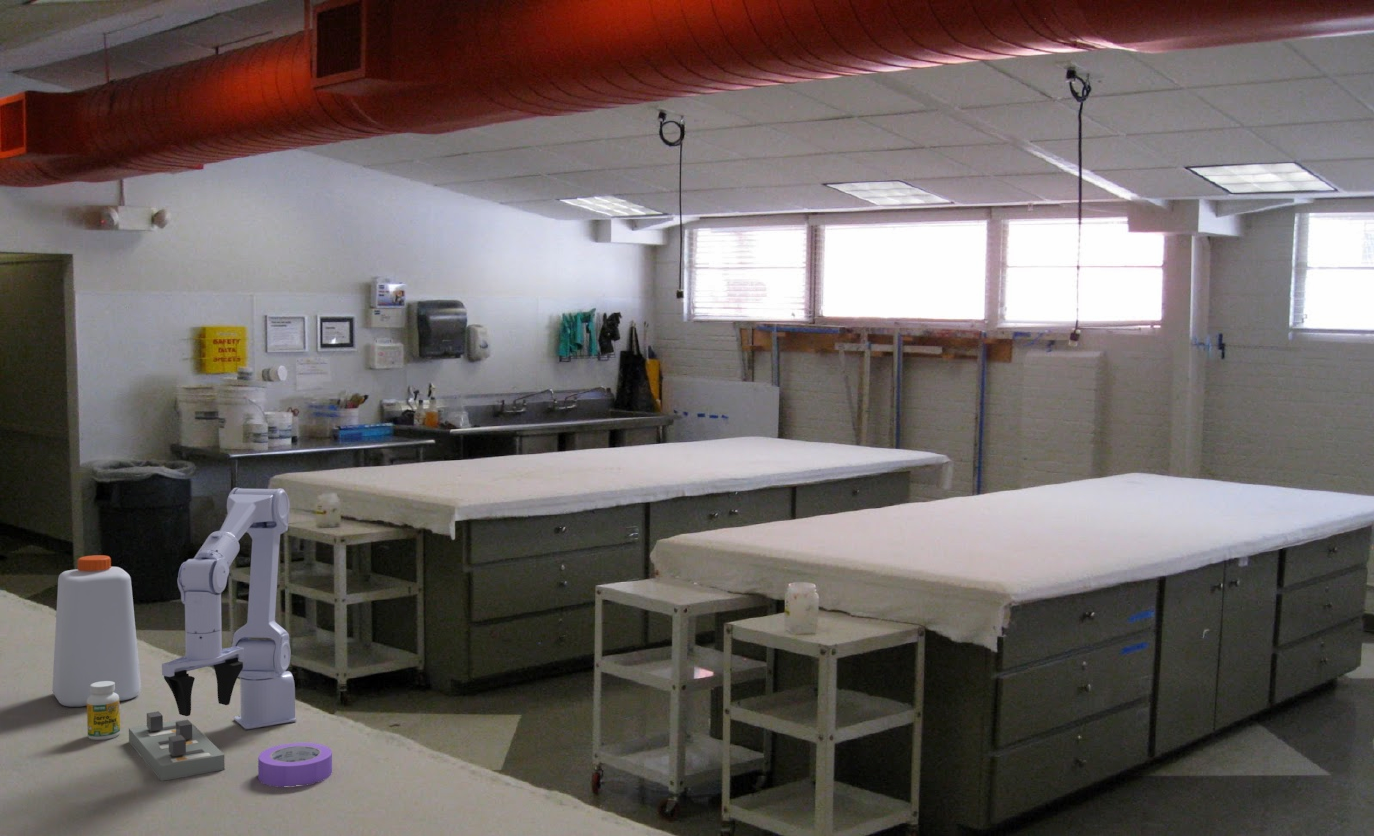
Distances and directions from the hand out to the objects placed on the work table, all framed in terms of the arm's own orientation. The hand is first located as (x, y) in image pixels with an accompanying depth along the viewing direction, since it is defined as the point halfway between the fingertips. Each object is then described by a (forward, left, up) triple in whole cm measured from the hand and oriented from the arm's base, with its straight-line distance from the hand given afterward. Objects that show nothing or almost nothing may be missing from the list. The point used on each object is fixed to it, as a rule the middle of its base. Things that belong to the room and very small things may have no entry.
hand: (204, 709), depth 214 cm
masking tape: (-11, +14, -10) cm, 20 cm away
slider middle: (+2, -7, -6) cm, 10 cm away
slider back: (+5, -15, -7) cm, 17 cm away
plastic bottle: (+7, -53, -10) cm, 55 cm away
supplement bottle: (+11, -25, -10) cm, 29 cm away
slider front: (+5, +1, -7) cm, 8 cm away
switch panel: (+3, -7, -9) cm, 12 cm away
